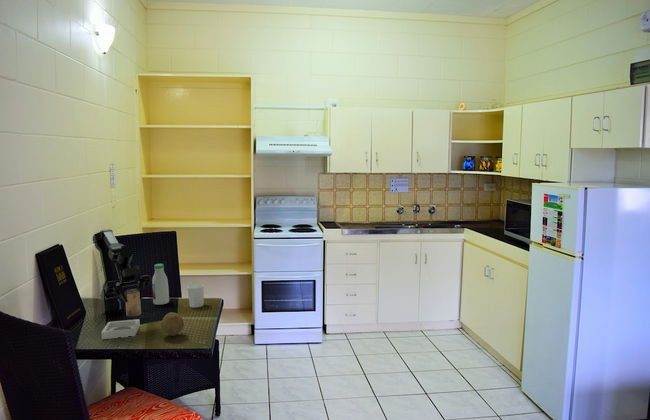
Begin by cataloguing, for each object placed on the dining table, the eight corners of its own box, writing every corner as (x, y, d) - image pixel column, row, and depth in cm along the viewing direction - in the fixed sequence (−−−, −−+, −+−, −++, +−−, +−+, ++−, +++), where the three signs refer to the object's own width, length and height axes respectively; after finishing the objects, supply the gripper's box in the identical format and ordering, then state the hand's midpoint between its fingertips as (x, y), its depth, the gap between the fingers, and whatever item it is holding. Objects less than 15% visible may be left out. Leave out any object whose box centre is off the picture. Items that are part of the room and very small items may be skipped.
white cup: (207, 303, 253) (206, 284, 251) (199, 308, 245) (197, 288, 244) (194, 302, 255) (193, 283, 254) (185, 307, 248) (184, 287, 247)
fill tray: (102, 339, 207) (101, 332, 207) (108, 328, 220) (108, 321, 220) (135, 336, 210) (134, 329, 210) (139, 325, 223) (139, 319, 222)
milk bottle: (171, 300, 260) (169, 262, 257) (165, 305, 252) (163, 266, 250) (157, 300, 261) (154, 262, 258) (150, 305, 253) (148, 266, 251)
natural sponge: (156, 338, 207) (155, 315, 206) (170, 330, 215) (169, 308, 214) (175, 340, 204) (173, 317, 203) (188, 333, 212) (186, 310, 211)
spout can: (124, 314, 218) (122, 289, 217) (138, 311, 222) (136, 287, 220) (130, 318, 212) (128, 293, 210) (144, 315, 215) (142, 291, 214)
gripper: (104, 263, 212) (113, 294, 205) (148, 257, 223) (159, 286, 216) (100, 278, 219) (109, 308, 212) (143, 271, 230) (153, 299, 223)
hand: (133, 300), depth 216 cm, fingers closed on spout can, 6 cm apart
